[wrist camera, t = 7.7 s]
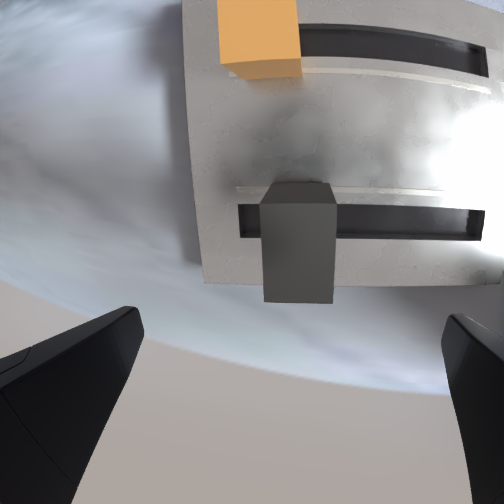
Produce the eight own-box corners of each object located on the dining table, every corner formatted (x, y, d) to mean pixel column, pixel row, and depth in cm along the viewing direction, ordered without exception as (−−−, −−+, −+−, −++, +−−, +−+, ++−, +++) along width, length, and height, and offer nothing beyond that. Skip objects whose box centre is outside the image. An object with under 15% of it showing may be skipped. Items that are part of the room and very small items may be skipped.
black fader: (327, 179, 17) (337, 203, 12) (326, 252, 19) (332, 303, 13) (274, 179, 18) (259, 203, 12) (276, 251, 19) (264, 302, 14)
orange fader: (297, 10, 14) (291, -36, 8) (302, 80, 15) (300, 58, 10) (243, 14, 14) (215, -28, 9) (248, 82, 16) (220, 64, 10)
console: (493, 21, 12) (508, 15, 10) (487, 271, 18) (500, 284, 16) (193, 4, 15) (181, -7, 13) (213, 269, 22) (204, 284, 20)
